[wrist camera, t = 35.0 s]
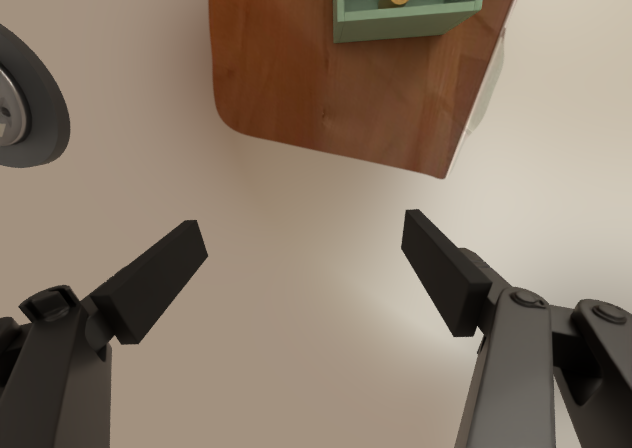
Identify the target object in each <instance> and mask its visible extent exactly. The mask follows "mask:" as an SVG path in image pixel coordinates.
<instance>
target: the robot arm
mask: <svg viewBox="0 0 632 448" xmlns="http://www.w3.org/2000/svg"><path fill="white" fill-rule="evenodd" d="M31 126H32V115H31V110H30V106H29V103H28V101H27V98H26V96H25V94H24V92H23V90H22V89H21V87H20V85H19V84H18V82H17V81H16V79H15V78H14V77H13V76H12V74H11V73H10V72H9V71H8V70H7V69H6V67H5V66H4V65H3V64H2V63H1V62H0V146H8V145H15V144H18V143H20V142H22V141H23V140H25V139H26V138H27V136H28V135H29V133H30V130H31ZM401 249H402V250H403V252H404V254H405V256H406V257H407V259H408V261H409V262H410V264H411V266H412V267H413V269H414V271H415V272H416V274H417V276H418V278H419V279H420V281H421V283H422V284H423V286H424V288H425V289H426V291H427V293H428V294H429V296H430V298H431V299H432V301H433V303H434V304H435V306H436V308H437V310H438V311H439V313H440V314H441V316H442V318H443V320H444V321H445V323H446V325H447V326H448V328H449V330H450V332H451V333H452V335H453V337H473V336H474V334H475V331H476V328H477V326H478V327H479V329H480V330H481V331H482V332H483V334H484V336H483V339H482V341H481V344H480V346H479V349H478V351H477V354H478V357H477V361H476V365H475V369H474V373H473V377H472V381H471V385H470V388H469V392H468V396H467V400H466V404H465V408H464V412H463V416H462V419H461V423H460V427H459V431H458V435H457V439H456V443H455V447H454V448H556V439H555V410H554V380H553V374H554V377H555V379H556V382H557V384H558V387H559V389H560V392H561V395H562V398H563V400H564V403H565V405H566V408H567V411H568V413H569V416H570V418H571V421H572V424H573V426H574V429H575V431H576V434H577V437H578V439H579V442H580V444H581V447H582V448H632V314H630V313H629V312H627V311H625V310H623V309H621V308H620V307H618V306H614V305H613V304H610V303H606V302H603V301H599V300H592V299H584V300H580V302H578V304H577V305H576V307H575V309H570V308H565V307H559V306H554V305H549V303H548V302H547V301H546V300H544V299H543V298H542V297H540V296H539V295H537V294H536V293H534V292H531V291H529V290H526V289H522V288H518V287H512V286H511V285H510V284H509V283H508V282H506V280H504V279H503V278H502V277H501V276H500V275H499V274H498V273H497V272H495V271H494V270H493V269H492V268H490V266H489V265H488V264H487V263H486V262H483V260H482V259H481V258H480V257H479V256H478V255H477V254H476V253H474V252H472V251H470V250H468V249H466V248H457V247H456V246H455V245H454V244H453V243H452V242H451V241H450V240H449V239H448V238H447V237H446V236H445V235H444V234H443V233H442V232H441V231H440V230H439V229H438V228H437V227H436V226H435V225H434V224H433V223H432V222H431V221H430V220H429V219H428V218H427V217H426V216H425V215H424V214H423V213H422V212H421V211H420V210H419V209H416V210H415V209H414V210H406V213H405V221H404V230H403V237H402V245H401ZM207 257H208V254H207V251H206V248H205V245H204V241H203V238H202V235H201V232H200V229H199V226H198V223H197V220H187V221H184V222H183V223H181V224H180V225H179V226H178V227H176V228H175V229H173V230H172V231H171V232H170V233H169V234H167V235H166V236H165V237H163V238H162V239H161V240H159V241H158V242H157V243H156V244H154V245H153V246H152V247H151V248H149V249H148V250H147V251H145V252H144V253H143V254H142V255H140V256H139V257H138V258H137V259H135V260H134V261H133V262H131V263H130V264H129V265H128V266H126V267H124V268H122V269H121V270H120V271H118V272H117V273H116V274H115V275H114V276H112V277H111V278H109V280H107V282H104V283H103V284H102V285H100V286H99V287H98V288H97V289H95V290H94V291H93V292H92V293H90V294H89V295H88V296H86V297H85V298H84V299H83V300H81V301H79V299H78V298H77V296H76V295H75V294H74V292H73V291H72V289H71V288H70V286H67V285H62V286H55V287H52V288H48V289H46V290H43V291H41V292H38V293H36V294H35V295H33V296H31V297H29V298H28V299H26V300H25V301H23V302H22V303H21V304H20V305H19V308H20V309H21V311H22V312H23V313H24V314H25V315H26V316H27V318H28V319H29V320H30V321H31V322H32V323H28V324H24V325H20V326H19V325H18V324H17V323H16V321H15V320H14V319H13V318H12V317H3V318H0V448H110V446H109V445H110V405H111V404H110V403H111V402H110V401H111V360H112V348H111V346H110V344H109V343H108V342H109V341H110V340H111V339H112V337H113V336H114V335H115V336H116V337H117V339H118V340H119V342H120V343H121V344H122V345H124V344H139V343H140V341H141V340H142V339H143V338H144V337H145V335H146V334H147V333H148V332H149V330H150V329H151V328H152V326H153V325H154V324H155V323H156V321H157V320H158V319H159V318H160V316H161V315H162V314H163V313H164V311H165V310H166V309H167V307H168V306H169V305H170V304H171V302H172V301H173V300H174V299H175V297H176V296H177V295H178V293H179V292H180V291H181V290H182V289H183V287H184V286H185V285H186V284H187V282H188V281H189V280H190V278H191V277H192V276H193V275H194V273H195V272H196V271H197V270H198V268H199V267H200V266H201V265H202V263H203V262H204V261H205V260H206V258H207Z"/></svg>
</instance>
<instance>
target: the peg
mask: <svg viewBox="0 0 632 448" xmlns="http://www.w3.org/2000/svg"><path fill="white" fill-rule="evenodd" d="M408 1H409V0H379V2H378V9H388V8H400V7H404V6H405V5H406V3H407V2H408Z"/></svg>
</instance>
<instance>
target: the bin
mask: <svg viewBox="0 0 632 448" xmlns="http://www.w3.org/2000/svg"><path fill="white" fill-rule="evenodd" d="M482 1H483V0H409V1H408V2H407V3H406V5H405V6H404V7H400V8H388V9H378V2H379V0H333V39H334V43H342V42H355V41H368V40H381V39H394V38H406V37H419V36H432V35H443V34H444V33H446V32H448V31H449V30H451V29H452V28H454V27H455V26H457V25H458V24H460V23H461V22H463V21H465V20H466V19H468V18H469V17H471V16H472V15H474V14H475V13H477V12H478V11H480V10H481V6H482Z"/></svg>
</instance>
